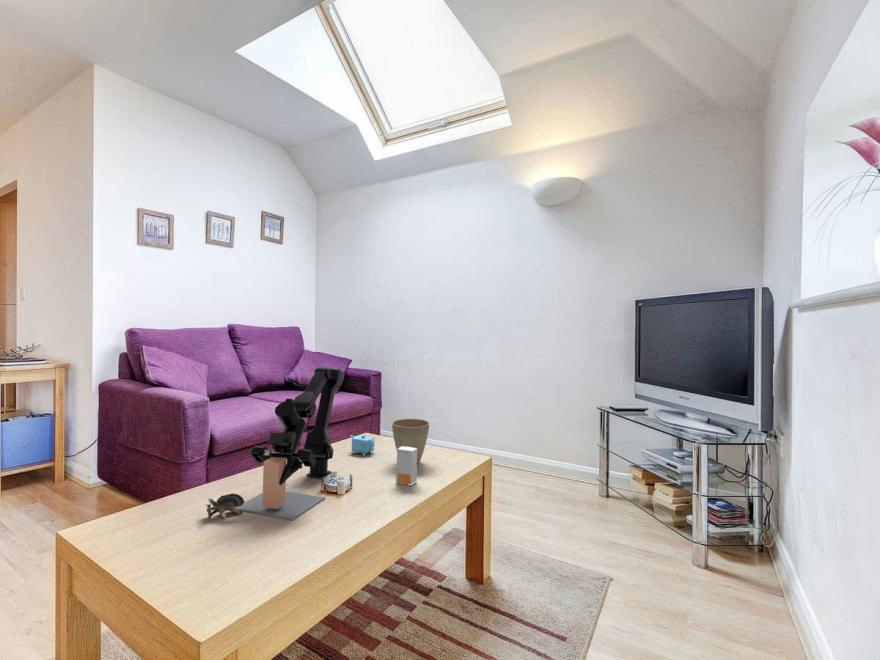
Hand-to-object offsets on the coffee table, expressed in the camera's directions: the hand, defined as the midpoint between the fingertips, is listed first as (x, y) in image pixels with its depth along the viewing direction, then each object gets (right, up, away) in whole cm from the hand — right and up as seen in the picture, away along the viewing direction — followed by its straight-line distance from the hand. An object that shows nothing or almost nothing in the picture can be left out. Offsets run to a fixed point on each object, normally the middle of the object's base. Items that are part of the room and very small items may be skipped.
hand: (272, 483), depth 123 cm
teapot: (+14, -8, +60) cm, 63 cm away
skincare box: (+36, -9, +26) cm, 45 cm away
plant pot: (+36, -9, +48) cm, 61 cm away
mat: (0, -8, +6) cm, 10 cm away
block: (0, -7, +1) cm, 7 cm away
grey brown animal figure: (-12, -8, -3) cm, 15 cm away
